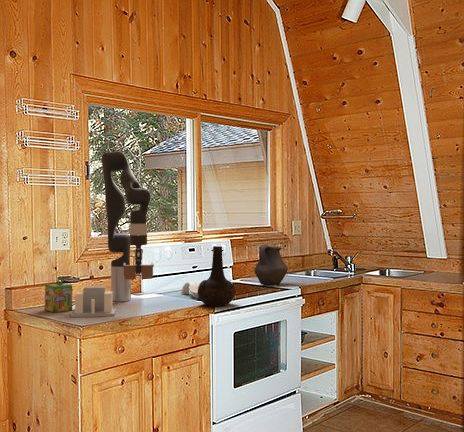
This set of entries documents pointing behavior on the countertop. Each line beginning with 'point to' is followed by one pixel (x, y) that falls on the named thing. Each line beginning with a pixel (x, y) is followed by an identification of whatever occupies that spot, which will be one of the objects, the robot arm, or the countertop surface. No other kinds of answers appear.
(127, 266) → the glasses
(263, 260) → the pitcher
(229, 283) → the glass bottle
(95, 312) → the display stand
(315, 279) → the countertop surface
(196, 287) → the spoon rest
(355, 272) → the countertop surface
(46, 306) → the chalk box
